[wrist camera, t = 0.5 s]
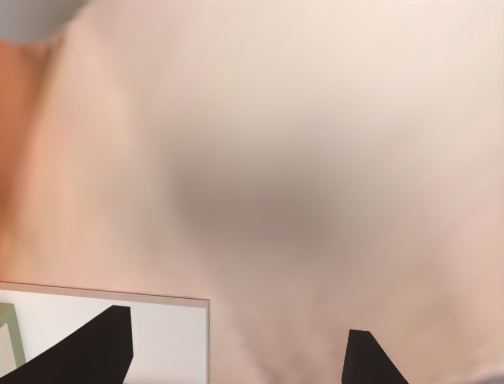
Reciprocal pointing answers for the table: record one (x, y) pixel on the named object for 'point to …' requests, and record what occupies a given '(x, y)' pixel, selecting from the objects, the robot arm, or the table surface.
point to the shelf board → (143, 328)
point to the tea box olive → (10, 340)
